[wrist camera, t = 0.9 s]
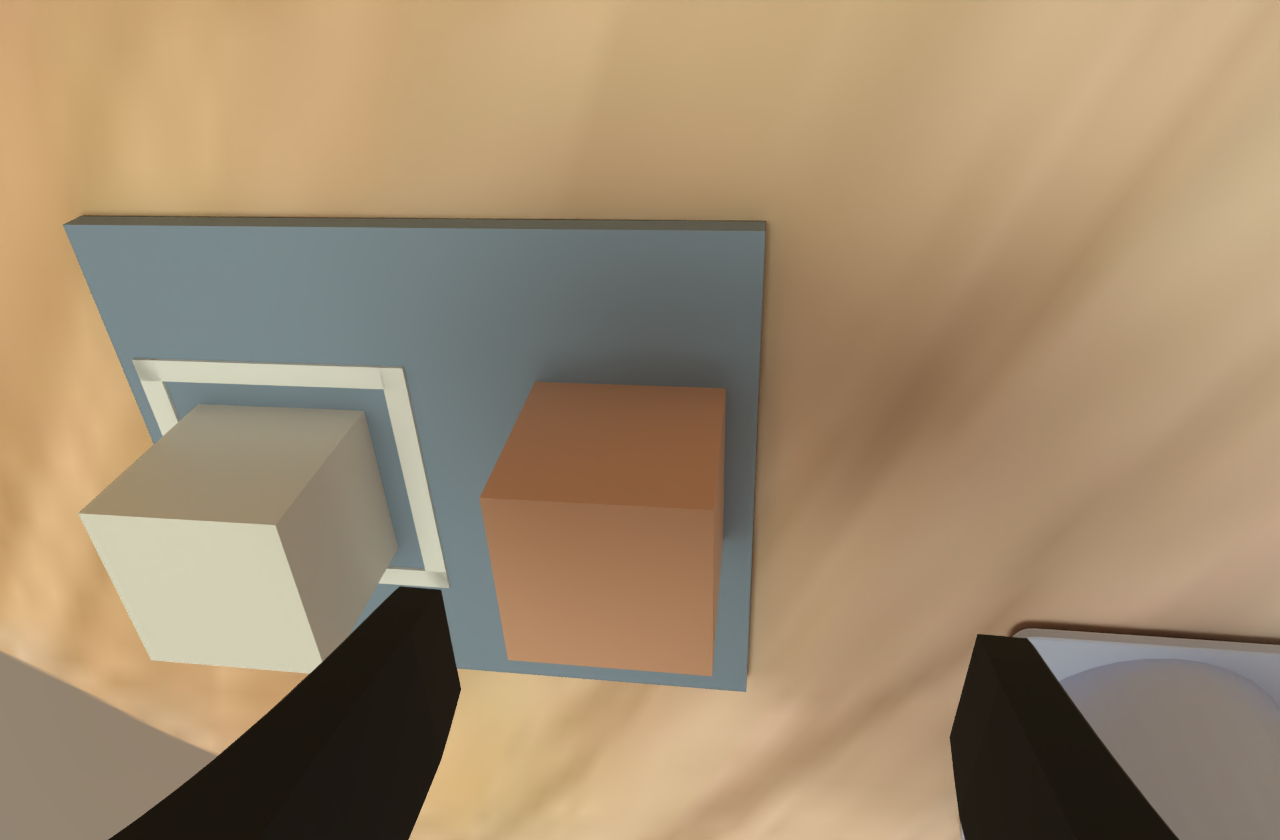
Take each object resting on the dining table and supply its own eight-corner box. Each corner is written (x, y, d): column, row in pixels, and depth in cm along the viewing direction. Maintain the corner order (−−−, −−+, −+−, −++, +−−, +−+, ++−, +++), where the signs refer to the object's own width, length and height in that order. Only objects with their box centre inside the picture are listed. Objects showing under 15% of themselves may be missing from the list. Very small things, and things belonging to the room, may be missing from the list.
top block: (722, 539, 22) (712, 676, 18) (552, 529, 22) (507, 659, 19) (725, 388, 19) (713, 510, 16) (534, 381, 20) (479, 497, 16)
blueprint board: (746, 675, 25) (745, 694, 25) (249, 636, 28) (237, 653, 27) (765, 221, 18) (765, 233, 17) (81, 216, 20) (59, 226, 19)
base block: (398, 547, 24) (326, 674, 20) (247, 539, 24) (151, 660, 20) (364, 410, 21) (275, 525, 17) (198, 404, 22) (78, 513, 18)
